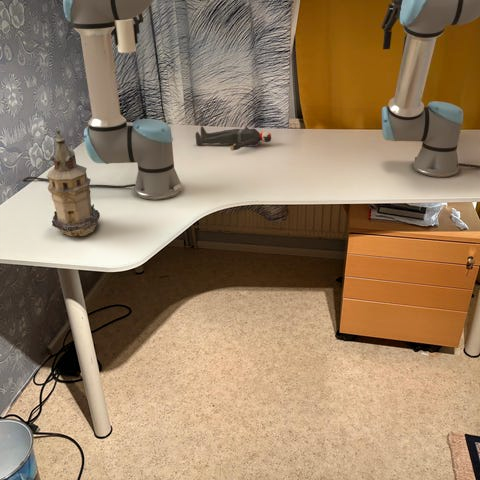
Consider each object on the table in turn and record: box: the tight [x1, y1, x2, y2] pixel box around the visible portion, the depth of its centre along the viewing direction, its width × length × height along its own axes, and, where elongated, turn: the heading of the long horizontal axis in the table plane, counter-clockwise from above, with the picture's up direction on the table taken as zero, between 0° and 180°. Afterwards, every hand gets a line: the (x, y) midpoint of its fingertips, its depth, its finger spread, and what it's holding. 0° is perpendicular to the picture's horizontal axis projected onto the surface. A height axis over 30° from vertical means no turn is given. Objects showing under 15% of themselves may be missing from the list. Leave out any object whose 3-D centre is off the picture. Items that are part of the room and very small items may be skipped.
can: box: [115, 18, 137, 54], centre depth 199 cm, size 7×7×11 cm
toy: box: [195, 125, 272, 152], centre depth 216 cm, size 26×6×30 cm
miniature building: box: [46, 129, 101, 237], centre depth 148 cm, size 13×14×30 cm
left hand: (126, 43), depth 201 cm, fingers closed on can, 7 cm apart
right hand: (395, 52), depth 204 cm, fingers open, 13 cm apart
